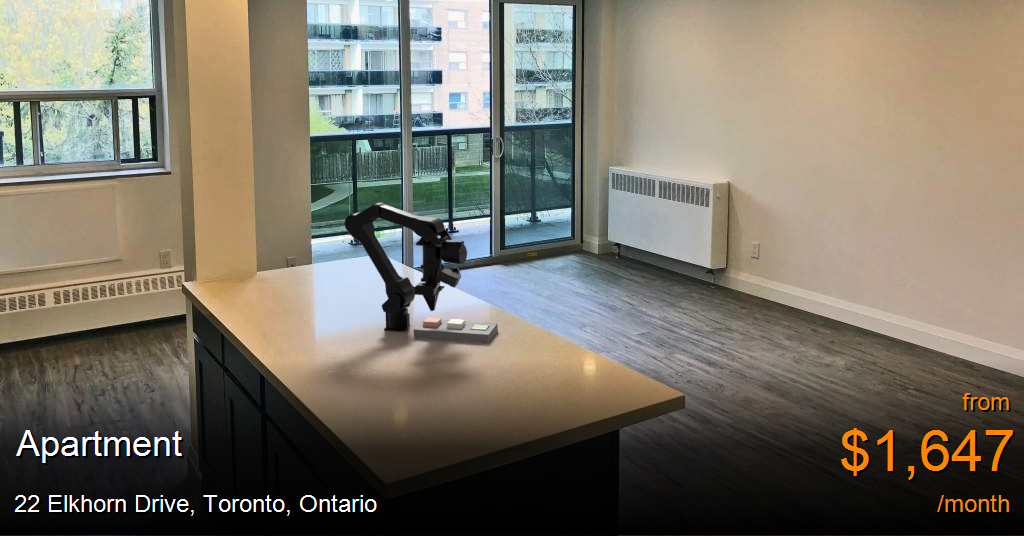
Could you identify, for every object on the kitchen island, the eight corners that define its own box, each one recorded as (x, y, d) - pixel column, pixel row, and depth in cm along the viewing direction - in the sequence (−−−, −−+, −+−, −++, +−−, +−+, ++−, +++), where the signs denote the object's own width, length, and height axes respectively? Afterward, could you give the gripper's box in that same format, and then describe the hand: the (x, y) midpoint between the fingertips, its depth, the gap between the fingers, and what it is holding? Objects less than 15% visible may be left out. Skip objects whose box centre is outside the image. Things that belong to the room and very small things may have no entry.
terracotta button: (423, 329, 286) (423, 321, 286) (427, 325, 290) (427, 317, 290) (437, 330, 285) (437, 322, 285) (441, 326, 290) (441, 318, 289)
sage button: (471, 336, 283) (471, 328, 283) (474, 332, 288) (474, 324, 287) (485, 337, 283) (485, 329, 282) (489, 333, 287) (489, 325, 286)
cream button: (447, 331, 285) (447, 323, 284) (451, 326, 289) (451, 318, 288) (461, 331, 284) (461, 324, 283) (465, 327, 288) (465, 319, 287)
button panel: (413, 337, 283) (413, 329, 283) (425, 325, 295) (425, 318, 294) (488, 342, 279) (488, 334, 278) (497, 330, 290) (497, 323, 289)
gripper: (449, 269, 272) (449, 321, 276) (466, 255, 290) (466, 304, 294) (412, 267, 275) (413, 318, 278) (431, 253, 292) (431, 301, 296)
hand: (432, 310), depth 287 cm, fingers closed
